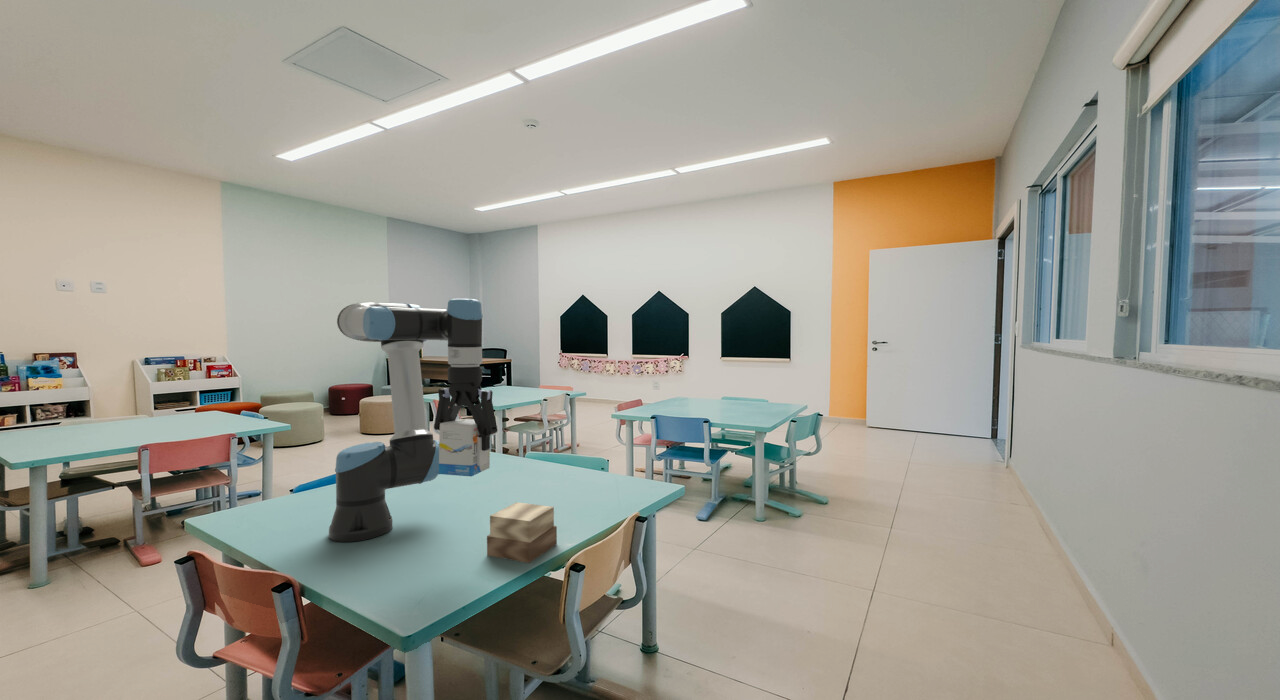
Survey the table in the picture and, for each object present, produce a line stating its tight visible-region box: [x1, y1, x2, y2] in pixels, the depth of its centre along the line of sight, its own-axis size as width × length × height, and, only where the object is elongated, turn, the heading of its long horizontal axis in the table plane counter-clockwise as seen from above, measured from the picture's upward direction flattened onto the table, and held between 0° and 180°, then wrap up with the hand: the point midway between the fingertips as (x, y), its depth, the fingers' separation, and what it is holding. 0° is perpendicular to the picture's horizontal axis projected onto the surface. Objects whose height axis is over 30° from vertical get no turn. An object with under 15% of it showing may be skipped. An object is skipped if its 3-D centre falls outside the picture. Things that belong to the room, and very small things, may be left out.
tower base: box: [486, 525, 558, 564], centre depth 126 cm, size 12×12×5 cm
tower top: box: [489, 501, 555, 543], centre depth 125 cm, size 11×11×5 cm
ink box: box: [438, 418, 491, 477], centre depth 118 cm, size 9×8×12 cm
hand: (465, 462), depth 119 cm, fingers closed on ink box, 9 cm apart
